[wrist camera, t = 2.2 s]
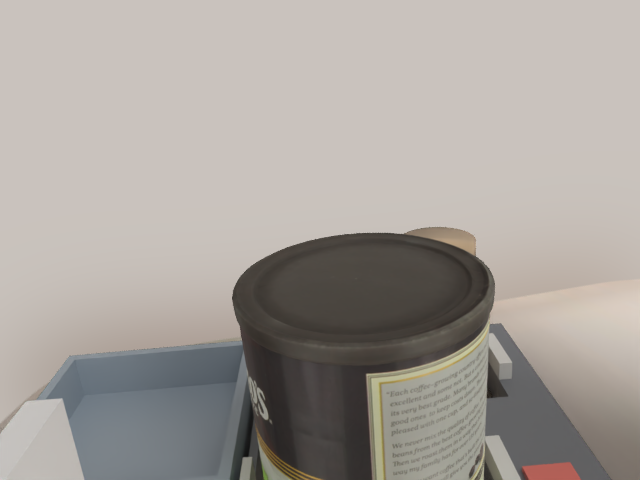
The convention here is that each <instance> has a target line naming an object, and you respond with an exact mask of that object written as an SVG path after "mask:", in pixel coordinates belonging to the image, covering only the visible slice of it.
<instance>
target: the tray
mask: <svg viewBox="0 0 640 480" xmlns="http://www.w3.org/2000/svg"><path fill="white" fill-rule="evenodd" d="M61 398H62V399H63V403H64V406H65V410H66V414H67V417H68V421H69V425H70V428H71V432H72V436H73V439H74V443H75V447H76V450H77V454H78V458H79V461H80V465H81V469H82V472H83V476H84V480H240V473H241V466H242V460H243V457H249V449H250V442H251V435H252V428H253V420H254V414H253V408H252V401H251V395H250V389H249V383H248V376H247V368H246V362H245V356H244V350H243V344H242V341H232V342H221V343H210V344H199V345H187V346H176V347H165V348H153V349H142V350H131V351H120V352H109V353H97V354H86V355H75V356H69V357H68V359H67V360H66V361H65V363H64V364H63V366H62V367H61V368H60V370H59V371H58V372H57V373H56V375H55V376H54V377H53V378H52V380H51V381H50V382H49V384H48V385H47V386H46V388H45V389H44V390H43V392H42V393H41V394H40V396H39V397H38V398H37V400H47V399H61Z"/></svg>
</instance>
